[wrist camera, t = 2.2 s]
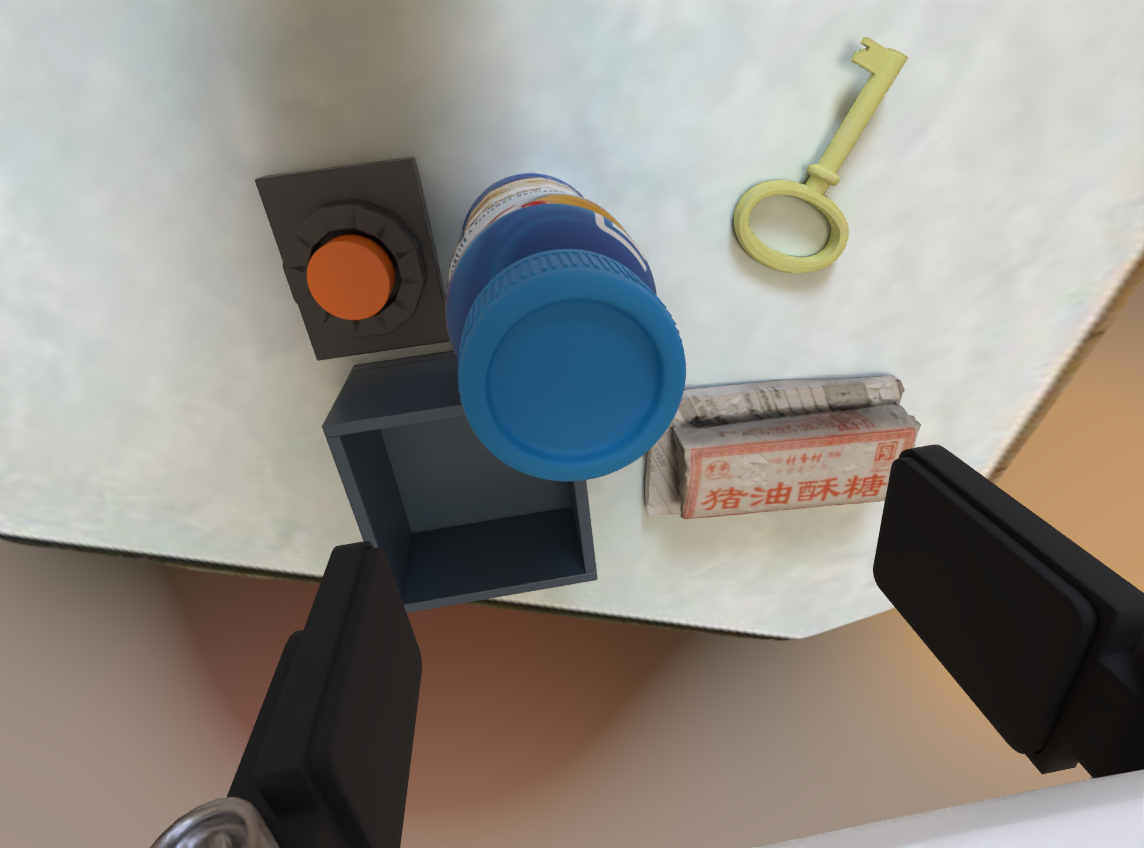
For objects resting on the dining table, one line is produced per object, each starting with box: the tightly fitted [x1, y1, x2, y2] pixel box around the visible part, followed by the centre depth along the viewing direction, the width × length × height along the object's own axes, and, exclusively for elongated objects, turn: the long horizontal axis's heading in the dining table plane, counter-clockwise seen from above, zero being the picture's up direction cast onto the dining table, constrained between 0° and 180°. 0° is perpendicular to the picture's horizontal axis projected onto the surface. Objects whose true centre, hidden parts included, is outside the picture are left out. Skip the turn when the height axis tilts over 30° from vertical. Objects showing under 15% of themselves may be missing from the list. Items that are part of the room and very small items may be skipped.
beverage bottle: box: [445, 173, 686, 481], centre depth 25 cm, size 8×8×20 cm
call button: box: [307, 234, 395, 320], centre depth 30 cm, size 4×4×2 cm
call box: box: [255, 157, 450, 360], centre depth 32 cm, size 10×8×3 cm
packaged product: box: [645, 375, 921, 519], centre depth 40 cm, size 18×5×10 cm
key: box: [734, 37, 908, 273], centre depth 33 cm, size 7×12×2 cm, turn 175°
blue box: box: [322, 351, 597, 613], centre depth 36 cm, size 13×13×8 cm
